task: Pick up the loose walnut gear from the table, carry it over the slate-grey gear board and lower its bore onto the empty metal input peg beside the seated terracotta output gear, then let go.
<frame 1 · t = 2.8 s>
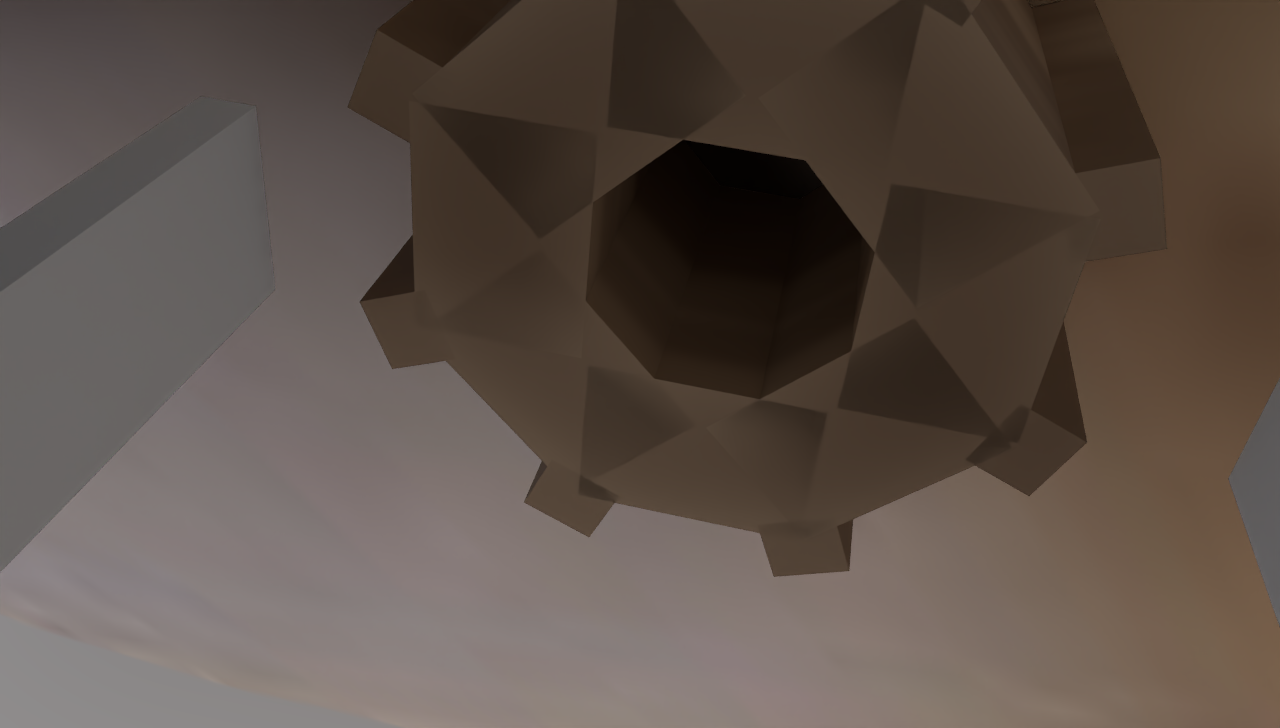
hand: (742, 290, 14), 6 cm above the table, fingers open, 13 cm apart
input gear: (775, 99, 19), on the table
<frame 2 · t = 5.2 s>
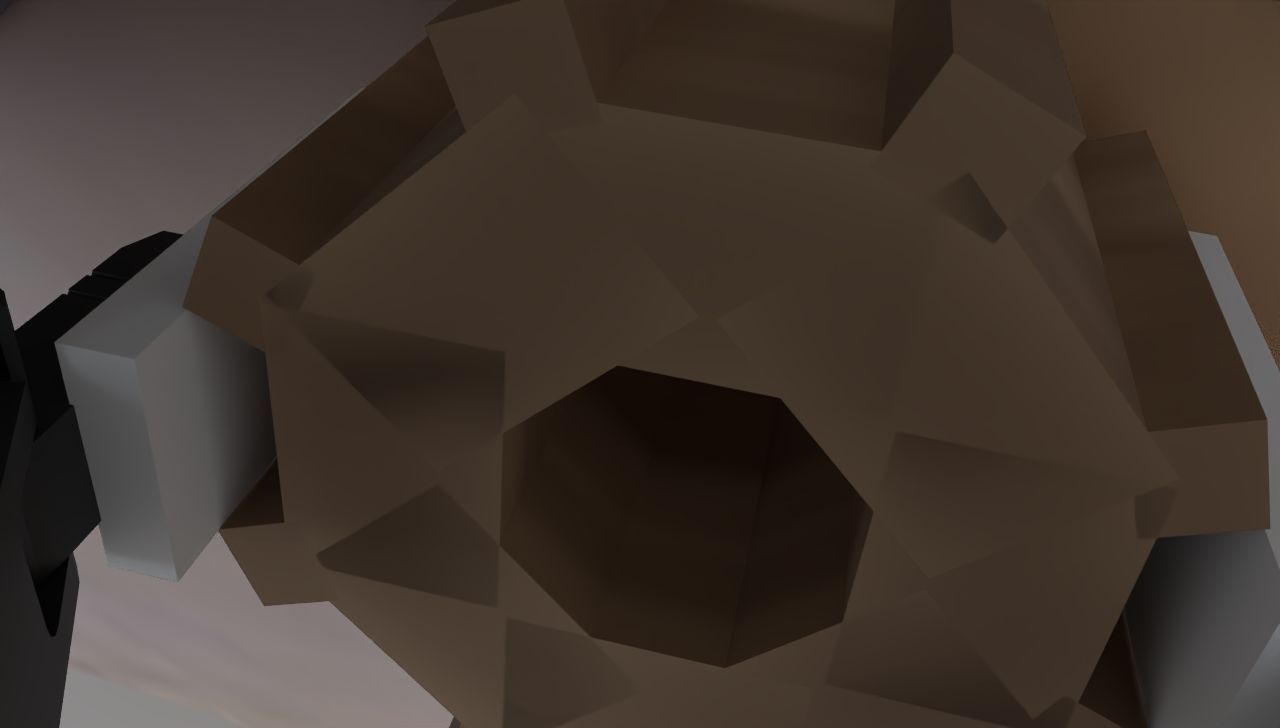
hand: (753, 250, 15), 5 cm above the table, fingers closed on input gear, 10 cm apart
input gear: (756, 240, 15), point 4 cm above the table, touching gripper
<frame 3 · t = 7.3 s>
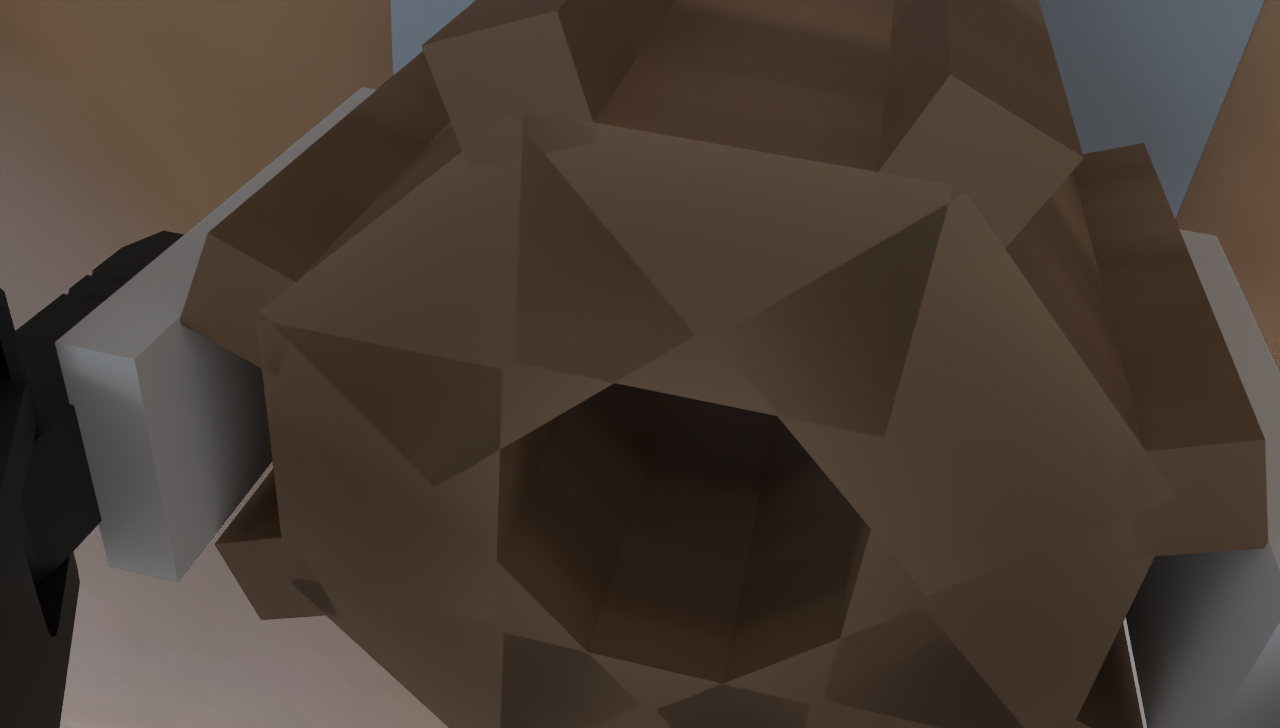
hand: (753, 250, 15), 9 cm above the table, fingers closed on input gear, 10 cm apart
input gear: (755, 251, 15), point 9 cm above the table, touching gripper
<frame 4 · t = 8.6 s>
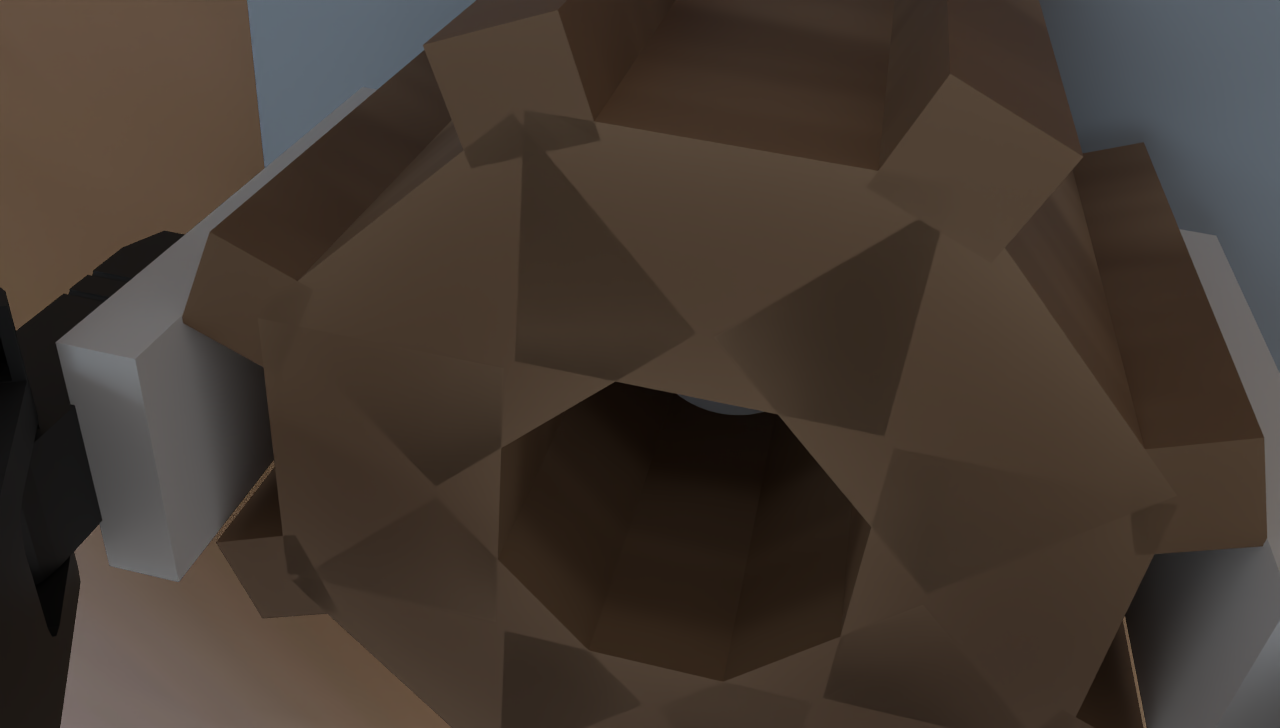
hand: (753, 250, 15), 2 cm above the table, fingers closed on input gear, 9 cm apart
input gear: (755, 251, 15), point 2 cm above the table, touching gripper
when the fingers open (2 cm above the table, at t = 9.5 s): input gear drops 1 cm, resting on gear board.
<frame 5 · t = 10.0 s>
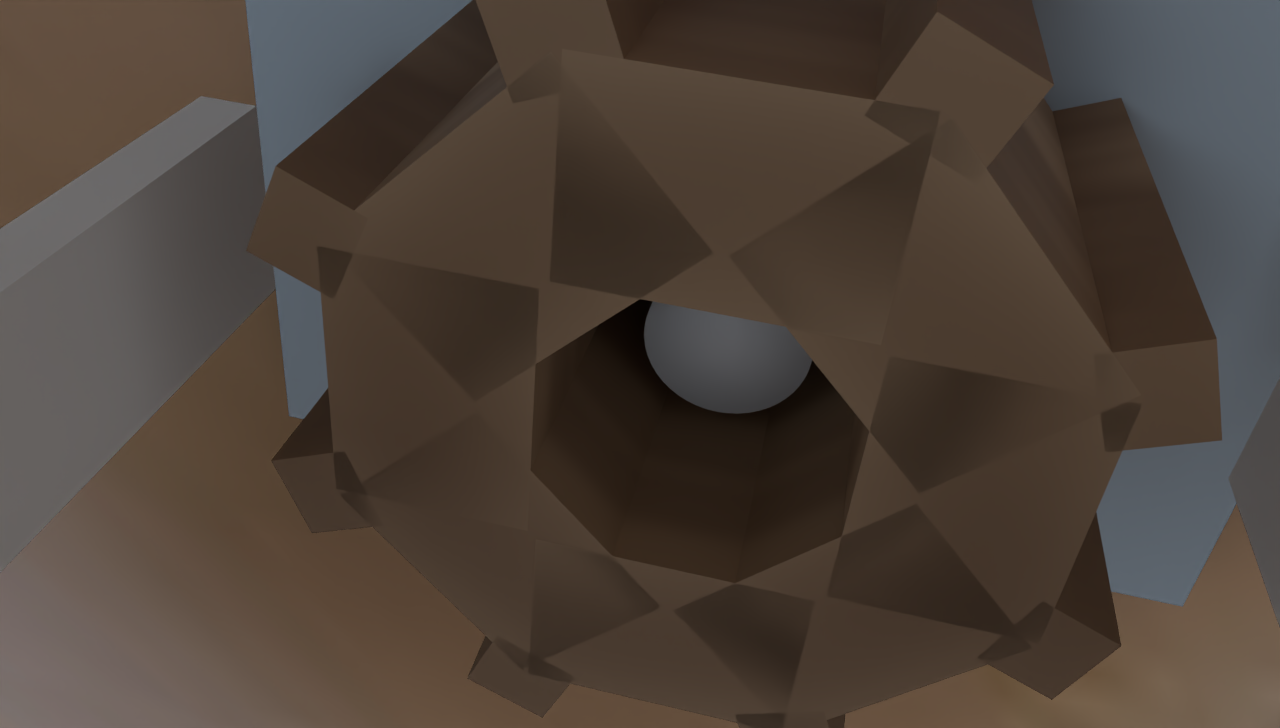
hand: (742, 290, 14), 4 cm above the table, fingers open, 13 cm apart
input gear: (761, 204, 17), point 1 cm above the table, touching gear board
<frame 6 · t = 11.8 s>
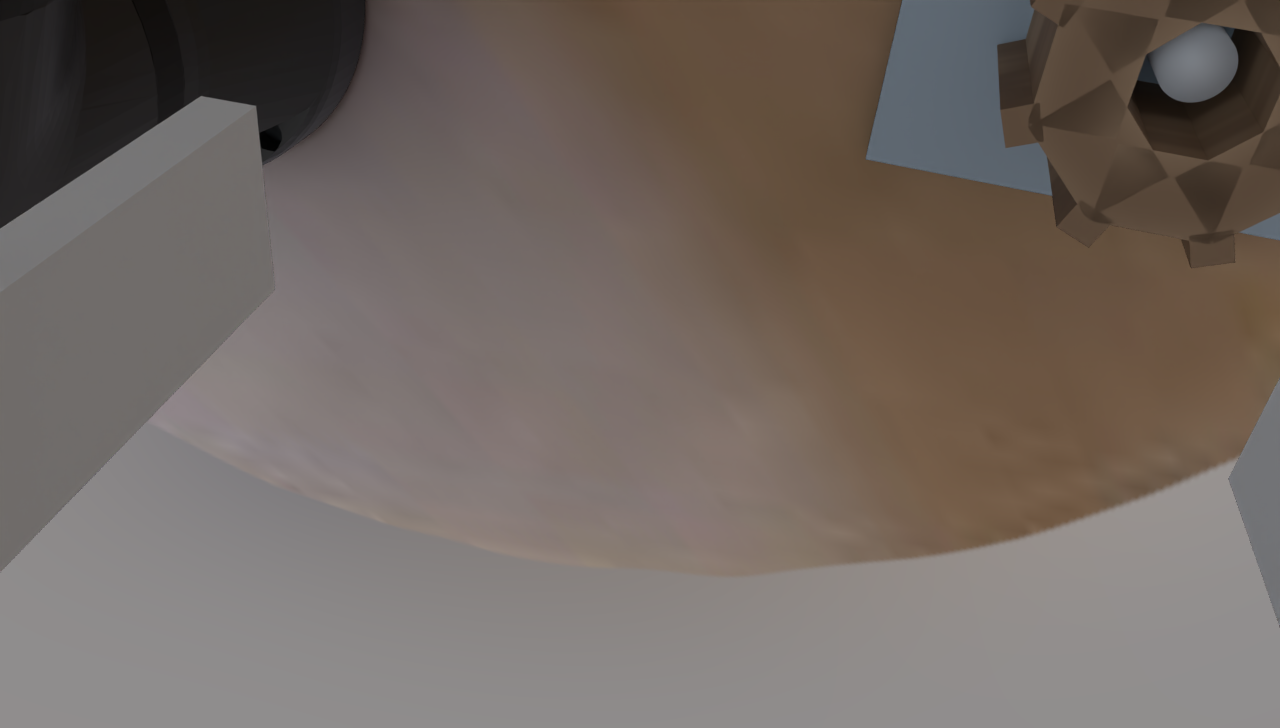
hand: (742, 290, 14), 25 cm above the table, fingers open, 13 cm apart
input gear: (1171, 27, 34), point 1 cm above the table, touching gear board
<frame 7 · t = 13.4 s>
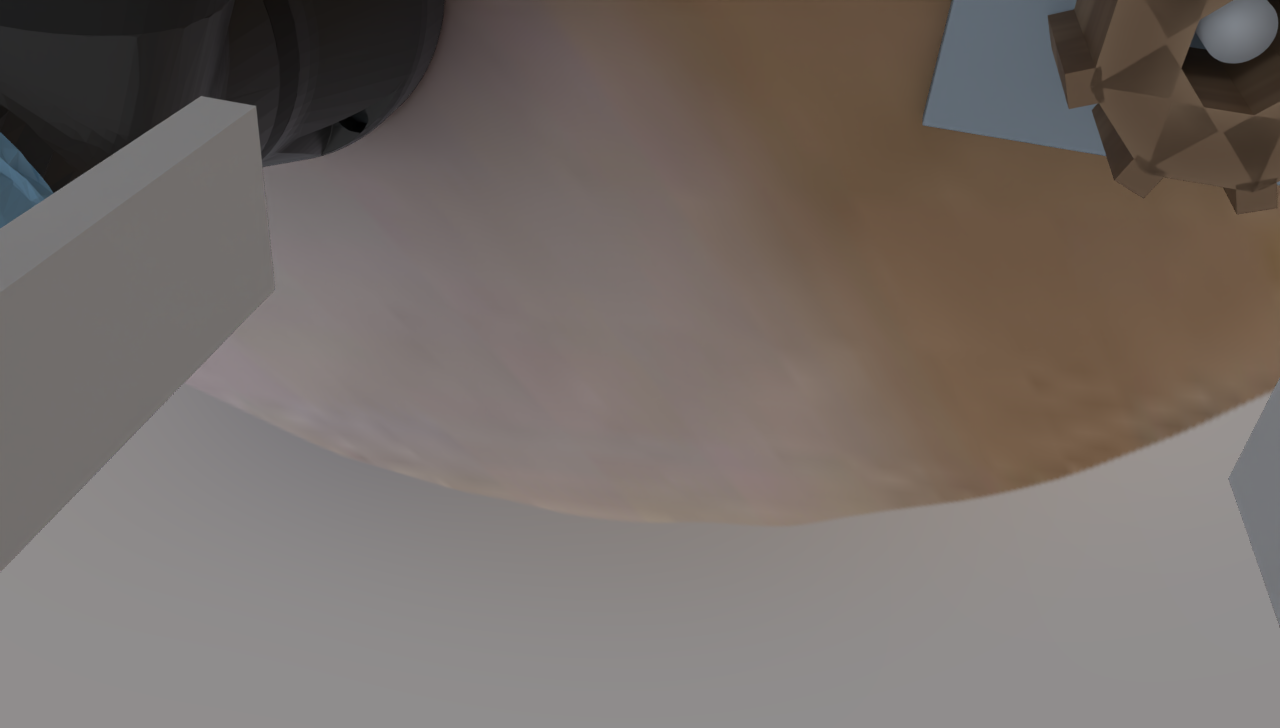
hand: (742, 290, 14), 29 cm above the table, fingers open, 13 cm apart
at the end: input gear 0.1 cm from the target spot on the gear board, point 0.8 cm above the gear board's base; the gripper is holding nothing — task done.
